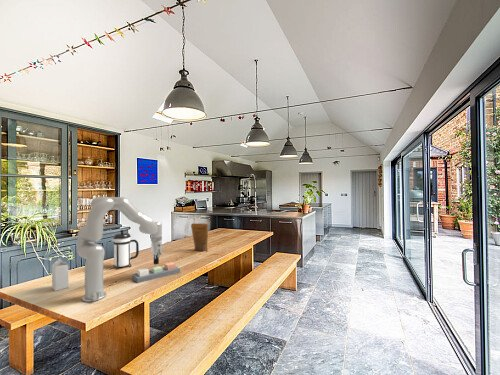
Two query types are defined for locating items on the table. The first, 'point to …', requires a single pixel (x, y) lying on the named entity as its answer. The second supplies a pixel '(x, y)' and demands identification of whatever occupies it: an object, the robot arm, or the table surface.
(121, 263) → the coffee press
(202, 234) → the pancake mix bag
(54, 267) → the milk carton
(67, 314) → the table surface
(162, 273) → the key console
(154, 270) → the sage key
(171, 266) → the terracotta key
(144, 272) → the cream key
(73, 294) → the table surface
